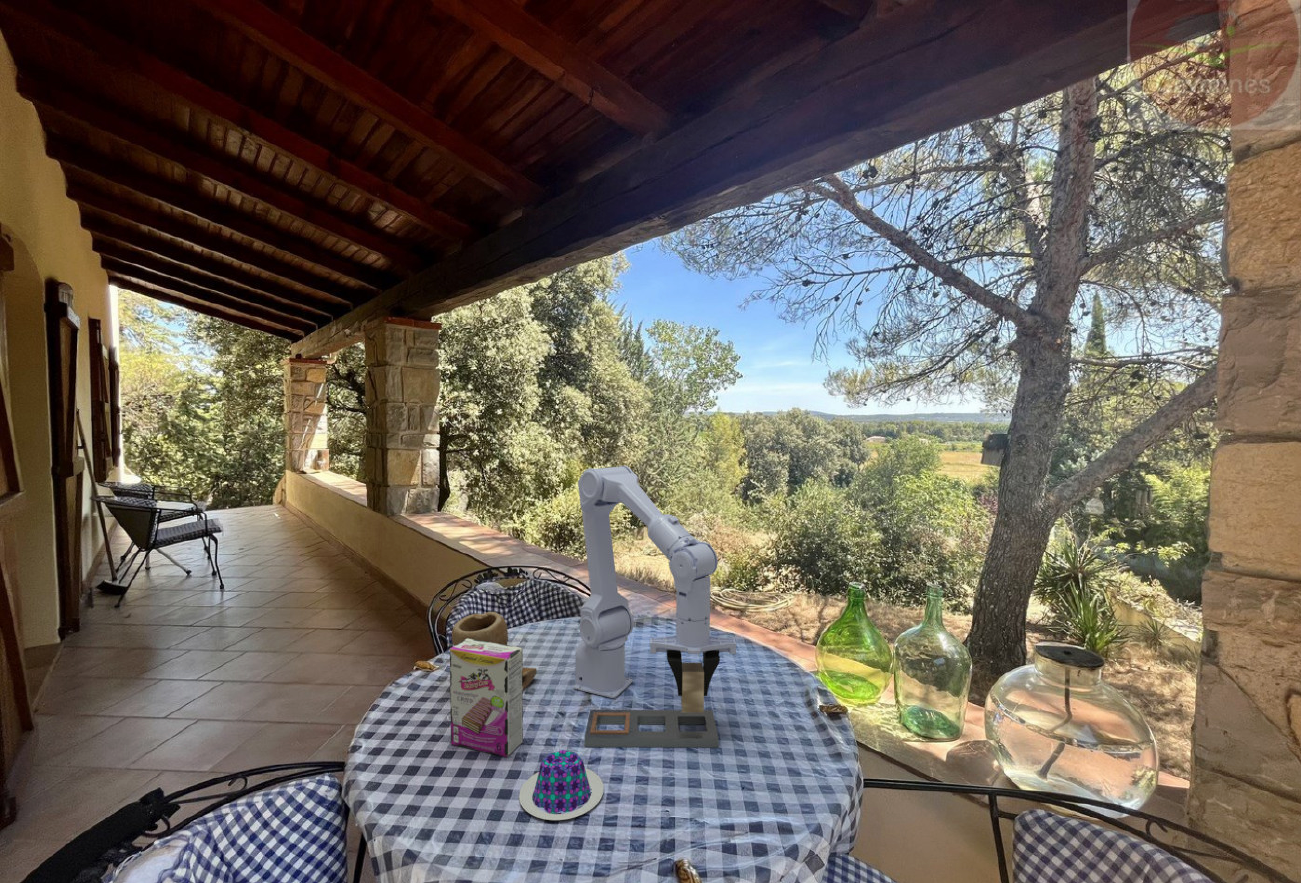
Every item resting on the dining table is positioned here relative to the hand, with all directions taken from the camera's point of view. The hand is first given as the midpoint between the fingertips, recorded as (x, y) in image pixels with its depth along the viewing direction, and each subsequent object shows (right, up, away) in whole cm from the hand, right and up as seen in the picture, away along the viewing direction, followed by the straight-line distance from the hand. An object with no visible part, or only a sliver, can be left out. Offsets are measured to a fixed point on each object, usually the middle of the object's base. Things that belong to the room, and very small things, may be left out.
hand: (692, 693), depth 99 cm
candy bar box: (-34, -7, -3) cm, 35 cm away
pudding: (-20, -8, -16) cm, 27 cm away
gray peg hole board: (-7, -7, 0) cm, 10 cm away
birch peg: (0, -2, 0) cm, 2 cm away
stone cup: (-39, -6, +15) cm, 42 cm away
